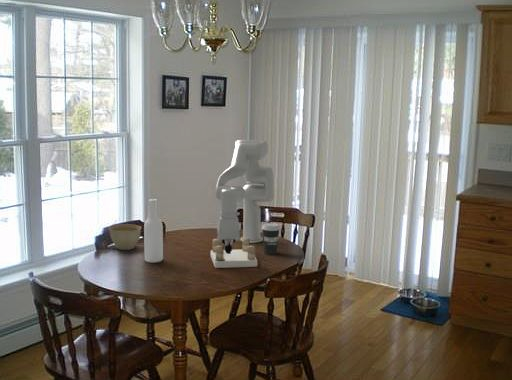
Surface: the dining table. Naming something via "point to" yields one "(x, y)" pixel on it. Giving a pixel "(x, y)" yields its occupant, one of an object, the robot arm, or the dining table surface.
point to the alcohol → (153, 235)
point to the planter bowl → (125, 236)
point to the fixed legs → (245, 247)
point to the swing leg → (219, 252)
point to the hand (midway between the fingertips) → (228, 253)
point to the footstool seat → (233, 259)
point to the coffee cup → (270, 238)
